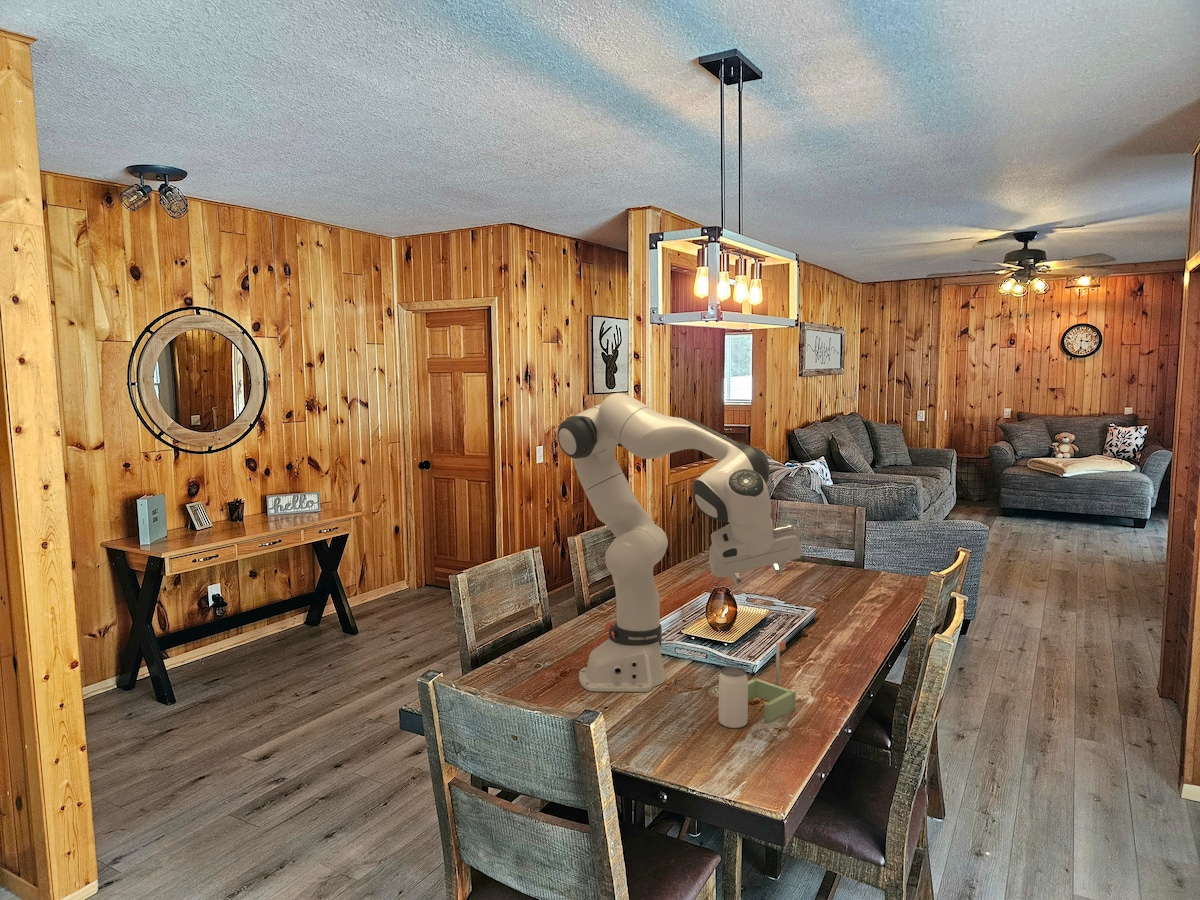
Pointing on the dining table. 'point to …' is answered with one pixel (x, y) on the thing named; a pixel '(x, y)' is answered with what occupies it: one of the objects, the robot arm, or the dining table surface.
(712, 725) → the dining table surface
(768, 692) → the olive frame
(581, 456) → the robot arm
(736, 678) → the can
